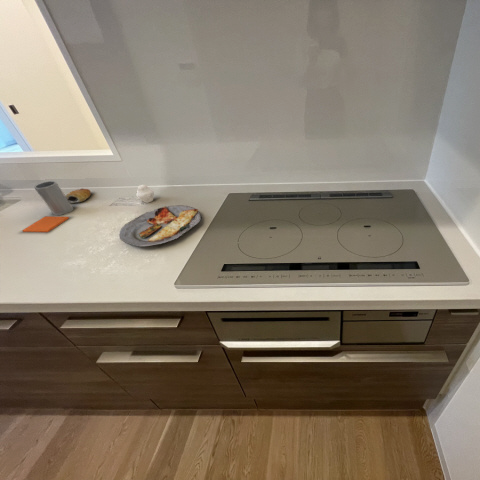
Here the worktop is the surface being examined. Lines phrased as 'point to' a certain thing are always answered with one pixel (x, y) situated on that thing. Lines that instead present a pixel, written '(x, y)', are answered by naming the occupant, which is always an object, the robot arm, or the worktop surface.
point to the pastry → (78, 195)
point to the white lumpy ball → (145, 193)
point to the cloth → (45, 224)
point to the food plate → (160, 225)
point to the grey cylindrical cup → (54, 197)
